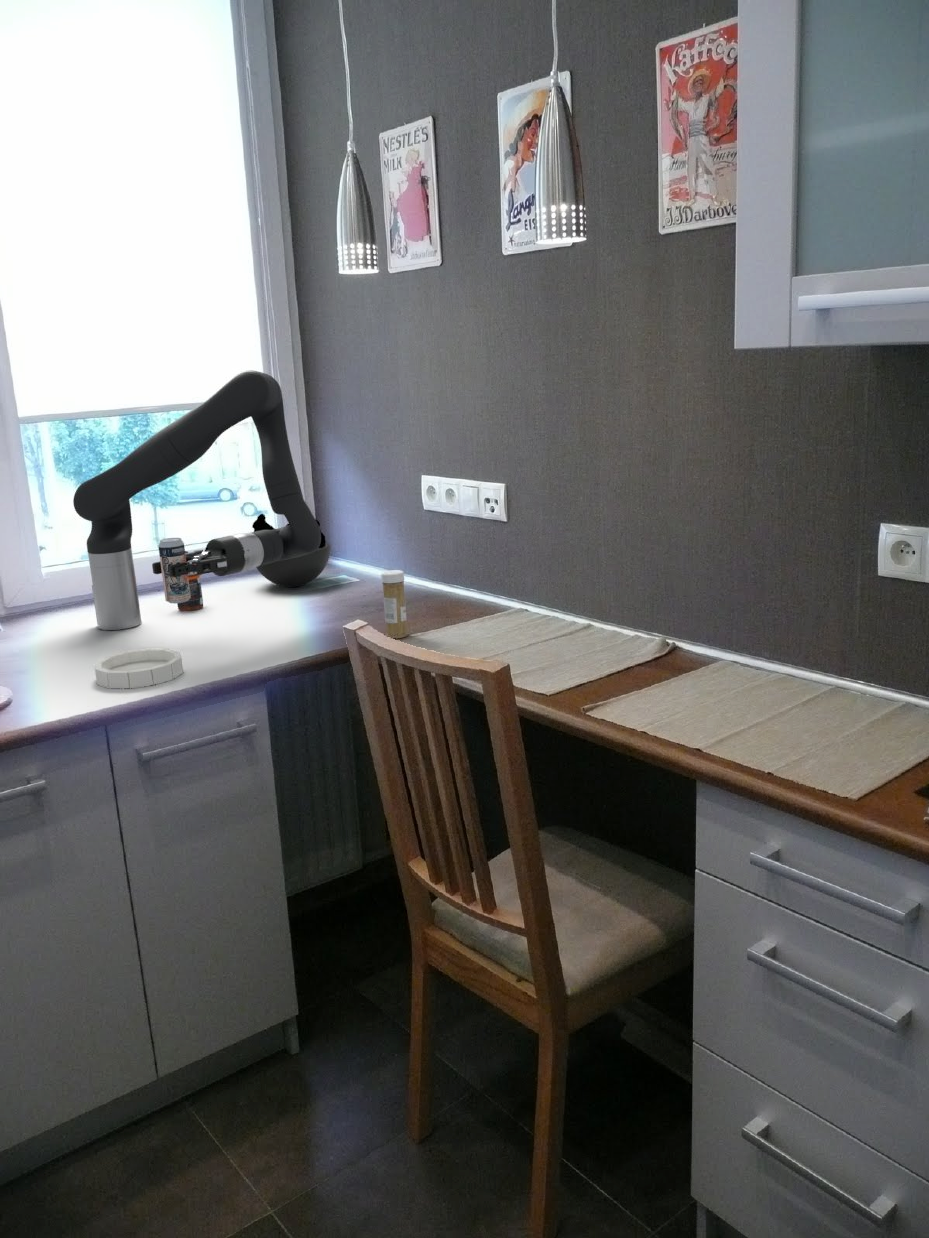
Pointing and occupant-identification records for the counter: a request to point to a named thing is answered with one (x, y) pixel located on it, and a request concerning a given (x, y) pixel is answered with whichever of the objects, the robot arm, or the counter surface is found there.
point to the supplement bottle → (193, 595)
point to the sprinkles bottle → (394, 603)
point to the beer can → (169, 555)
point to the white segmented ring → (138, 668)
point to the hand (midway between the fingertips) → (162, 570)
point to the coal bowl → (294, 562)
